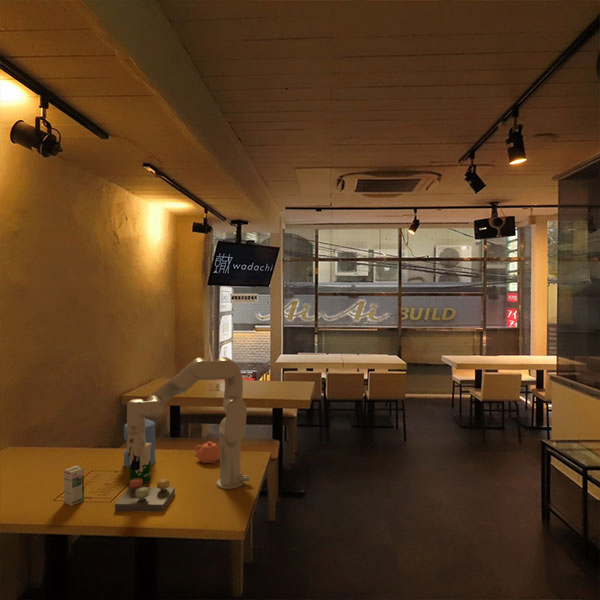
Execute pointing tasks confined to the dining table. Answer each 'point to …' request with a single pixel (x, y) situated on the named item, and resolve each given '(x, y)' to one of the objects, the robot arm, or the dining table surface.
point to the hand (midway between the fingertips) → (135, 469)
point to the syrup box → (73, 485)
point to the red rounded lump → (136, 483)
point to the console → (145, 500)
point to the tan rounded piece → (163, 484)
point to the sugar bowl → (208, 452)
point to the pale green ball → (142, 493)
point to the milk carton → (143, 466)
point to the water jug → (148, 437)
